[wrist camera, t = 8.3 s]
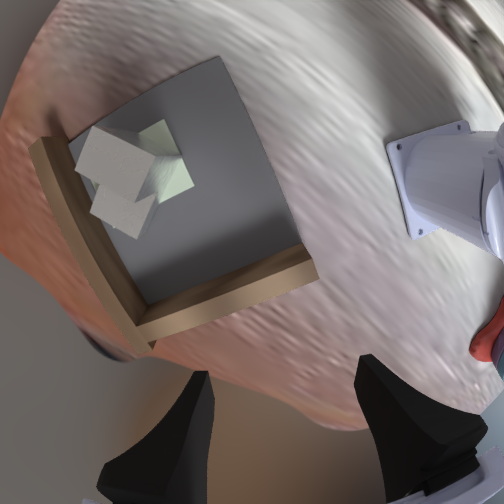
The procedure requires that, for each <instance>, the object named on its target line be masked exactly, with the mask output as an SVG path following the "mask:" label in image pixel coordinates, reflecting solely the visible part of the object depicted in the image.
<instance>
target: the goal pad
mask: <svg viewBox="0 0 504 504" xmlns="http://www.w3.org/2000/svg"><path fill="white" fill-rule="evenodd" d="M139 134H141V135H143V136H145V137H147V138H149V139H151V140H153V141H155V142H157V143H159V144H161V145H163V146H165V147H167V148H169V149H171V150H173V151H175V152H177V153H179V154H180V152H179V150H178V148H177V146H176V144H175V141H174V139H173V137H172V135H171V133H170V130H169V128H168V126H167V124H166V122H165V119H163V120H161V121H159V122H157V123H155V124H154V125H152V126H150V127H148V128H147V129H145V130H143V131H141V132H140V133H139ZM90 180H91V179H90ZM91 182H92V184H93V186H94V189H95V191H96V193H97V190H98V188H99V185H100V184H98V183H96V182H94V181H93V180H91ZM193 186H195V185H194V183H193V180H192V178H191V176H190V174H189V172H188V170H187V168H186V165H185V163H184V161H183V159H182V158H181V160H180V162H179V164H178V166H177V168H176V170H175V172H174V174H173V176H172V178H171V180H170V182H169V184H168V186H167V188H166V190H165V192H164V194H163V196H162V198H161V200H160V202H159V203H161V202H163V201H165V200H167V199H169V198H171V197H173V196H175V195H177V194H179V193H181V192H183V191H185V190H187V189H189V188H191V187H193ZM113 228H115V227H113Z"/></svg>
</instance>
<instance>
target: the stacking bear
mask: <svg viewBox="0 0 504 504" xmlns="http://www.w3.org/2000/svg"><path fill="white" fill-rule="evenodd" d="M470 354H471V355H472V356H473V357H474V358H475V359H477V360H479V361H482V362H493V364H494V366H495V368H496V370H497V371H498V374H499V375H500V377H501V379H502V380H503V381H504V296H503V298H502V301H501V303H500V306H499V309H498V311H497V313H496V315H495V316H494V318H493V319H492V320H491V322H490V323H489V324H488V325H487V326H486V327H485V328H484V329H482V330H481V331H480V332H479V333H478V334H477V335H476V337H475V338H474V340H473V341H472V343H471V347H470Z"/></svg>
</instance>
